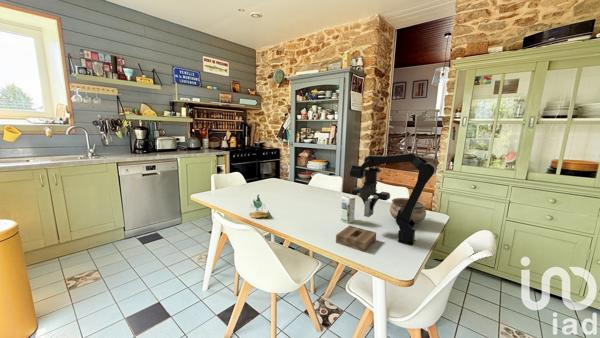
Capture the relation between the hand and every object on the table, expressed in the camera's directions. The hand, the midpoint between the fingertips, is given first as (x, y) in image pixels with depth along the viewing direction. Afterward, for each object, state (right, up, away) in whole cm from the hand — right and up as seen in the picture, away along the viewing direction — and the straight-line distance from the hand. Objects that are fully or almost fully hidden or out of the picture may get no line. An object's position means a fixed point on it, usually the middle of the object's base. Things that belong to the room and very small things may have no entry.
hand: (369, 209), depth 123 cm
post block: (-9, -14, -9) cm, 19 cm away
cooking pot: (+26, -10, +14) cm, 31 cm away
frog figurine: (-60, -8, +23) cm, 65 cm away
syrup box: (-8, -10, +16) cm, 20 cm away
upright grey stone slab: (0, -3, 0) cm, 3 cm away
